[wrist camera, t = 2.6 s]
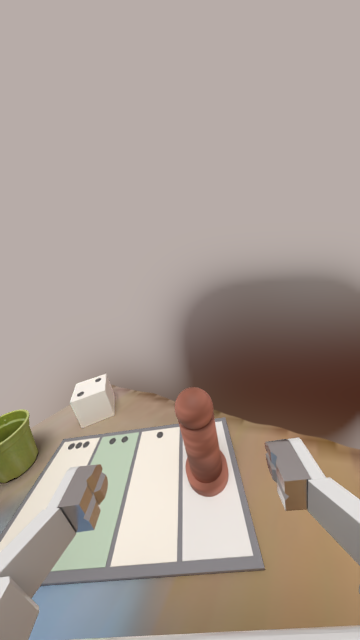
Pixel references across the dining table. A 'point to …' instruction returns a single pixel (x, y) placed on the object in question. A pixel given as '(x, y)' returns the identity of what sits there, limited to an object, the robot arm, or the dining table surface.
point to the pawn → (201, 442)
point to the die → (93, 400)
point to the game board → (146, 511)
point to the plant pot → (15, 445)
